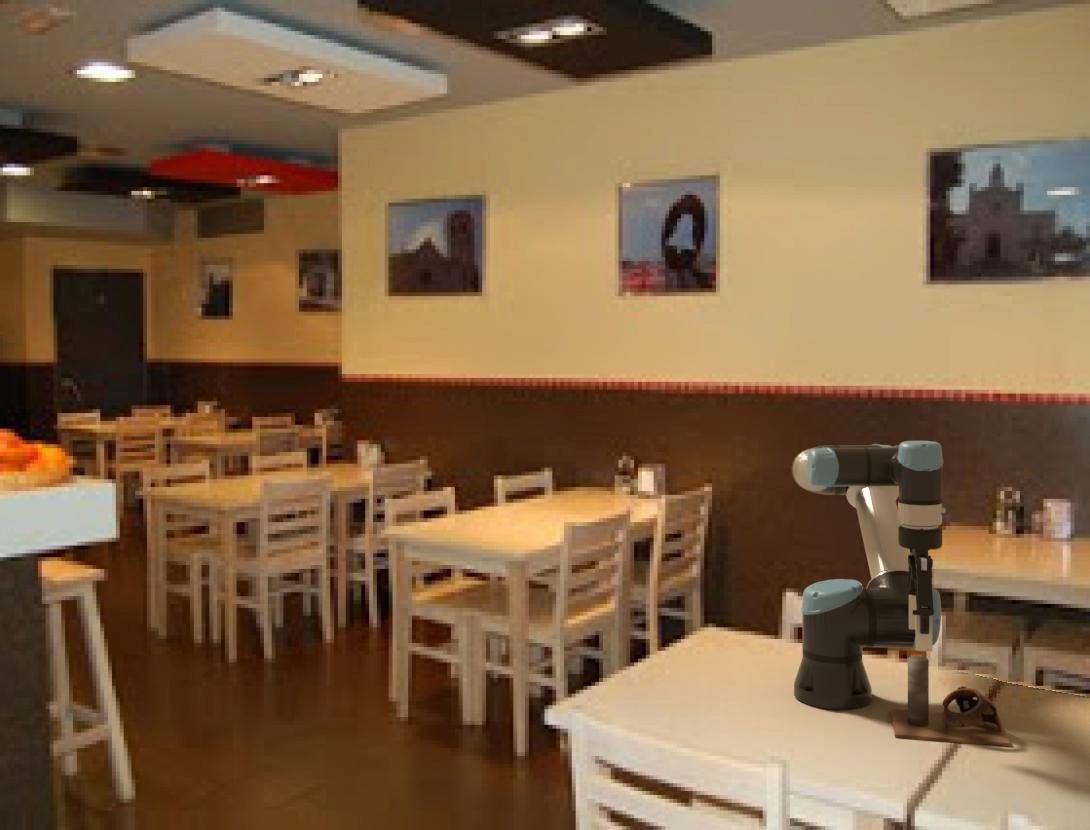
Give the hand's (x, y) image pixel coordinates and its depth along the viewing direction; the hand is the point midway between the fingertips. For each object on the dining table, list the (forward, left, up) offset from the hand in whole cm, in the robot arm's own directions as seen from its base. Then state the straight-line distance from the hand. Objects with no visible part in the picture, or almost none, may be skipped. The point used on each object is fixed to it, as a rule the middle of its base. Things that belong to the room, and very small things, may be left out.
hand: (920, 639), depth 179 cm
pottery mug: (+9, 0, -16) cm, 18 cm away
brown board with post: (+5, 0, -16) cm, 17 cm away
